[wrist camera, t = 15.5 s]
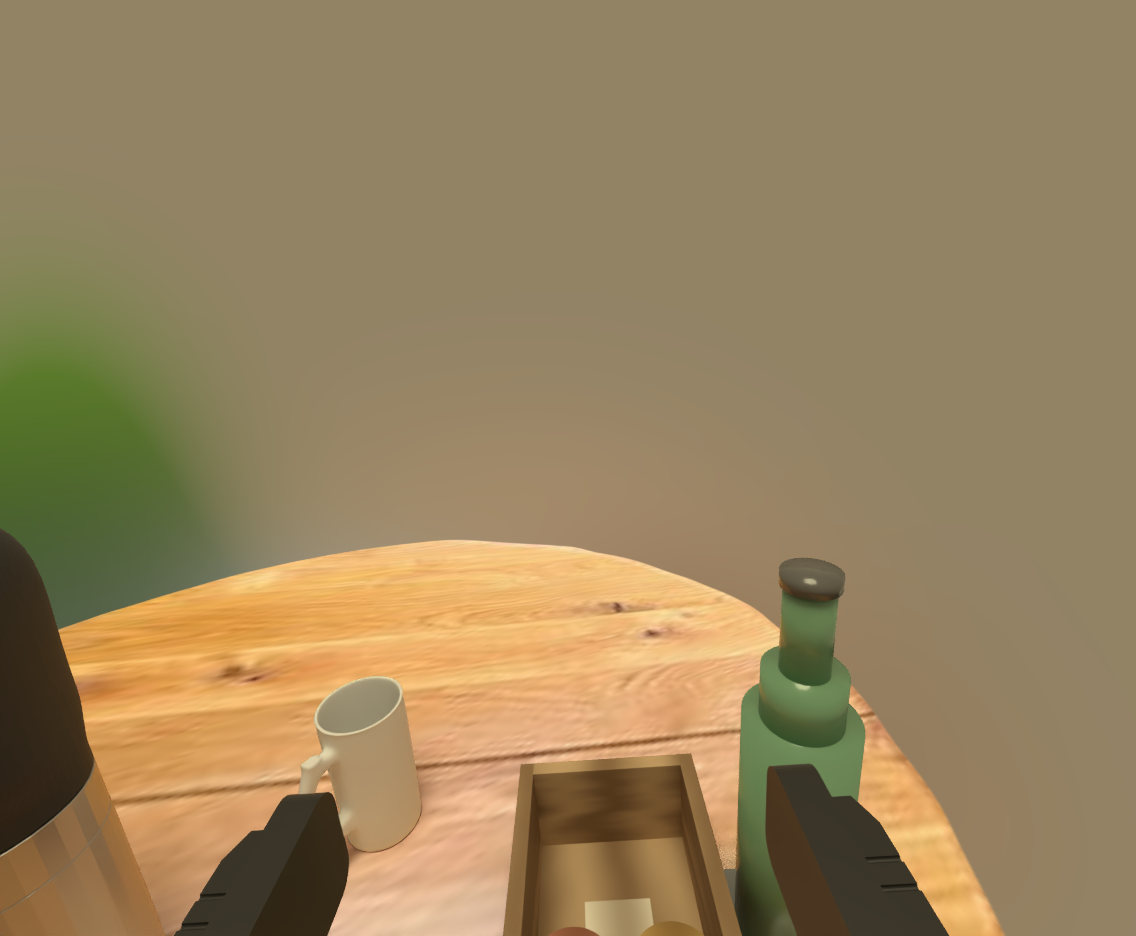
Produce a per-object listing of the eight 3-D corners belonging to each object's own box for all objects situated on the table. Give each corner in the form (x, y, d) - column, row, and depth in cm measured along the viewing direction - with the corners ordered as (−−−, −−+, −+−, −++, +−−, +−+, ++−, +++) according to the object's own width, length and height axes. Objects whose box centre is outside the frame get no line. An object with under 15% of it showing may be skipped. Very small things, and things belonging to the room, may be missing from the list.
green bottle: (717, 957, 34) (726, 580, 26) (754, 878, 38) (771, 536, 31) (821, 1035, 30) (866, 619, 23) (849, 937, 35) (894, 562, 27)
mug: (385, 776, 51) (361, 668, 47) (440, 799, 48) (420, 686, 44) (292, 874, 42) (255, 751, 39) (352, 910, 39) (318, 781, 36)
